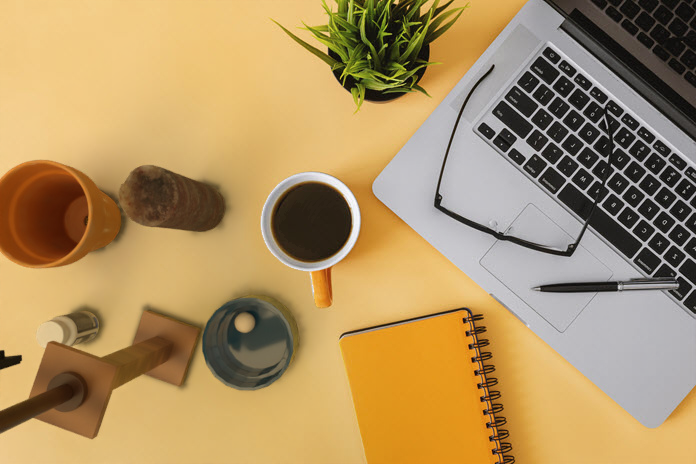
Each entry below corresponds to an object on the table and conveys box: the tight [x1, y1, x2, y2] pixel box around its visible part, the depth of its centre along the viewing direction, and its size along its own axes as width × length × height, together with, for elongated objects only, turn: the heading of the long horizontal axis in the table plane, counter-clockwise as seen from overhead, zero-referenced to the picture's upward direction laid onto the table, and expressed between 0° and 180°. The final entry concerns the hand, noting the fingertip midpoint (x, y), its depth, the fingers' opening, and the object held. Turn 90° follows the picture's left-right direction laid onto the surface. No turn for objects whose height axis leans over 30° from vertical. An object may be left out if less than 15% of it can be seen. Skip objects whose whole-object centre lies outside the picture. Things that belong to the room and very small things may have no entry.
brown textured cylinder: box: [118, 164, 226, 233], centre depth 65 cm, size 8×7×20 cm
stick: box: [0, 372, 88, 435], centre depth 45 cm, size 4×4×12 cm
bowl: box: [201, 294, 300, 392], centre depth 71 cm, size 13×13×6 cm
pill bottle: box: [35, 310, 100, 350], centre depth 71 cm, size 5×5×8 cm
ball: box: [235, 312, 255, 333], centre depth 72 cm, size 3×3×3 cm
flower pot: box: [0, 159, 122, 270], centre depth 69 cm, size 14×14×13 cm
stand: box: [27, 309, 202, 440], centre depth 62 cm, size 9×9×24 cm
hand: (11, 414), depth 43 cm, fingers open, 9 cm apart
